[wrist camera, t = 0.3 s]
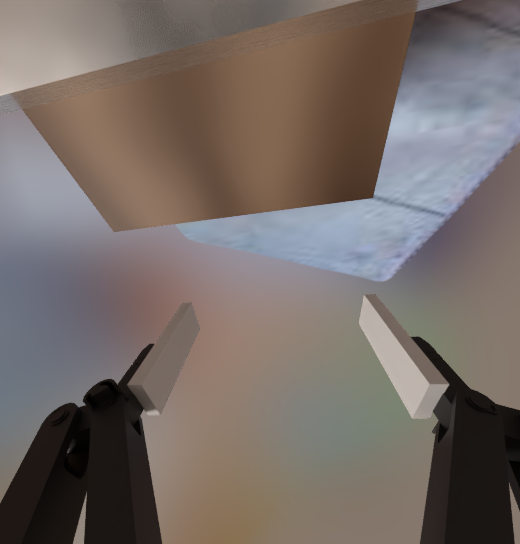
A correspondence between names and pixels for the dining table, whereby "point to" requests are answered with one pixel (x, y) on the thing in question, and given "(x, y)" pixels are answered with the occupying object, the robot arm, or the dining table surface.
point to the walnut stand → (236, 130)
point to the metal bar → (154, 38)
